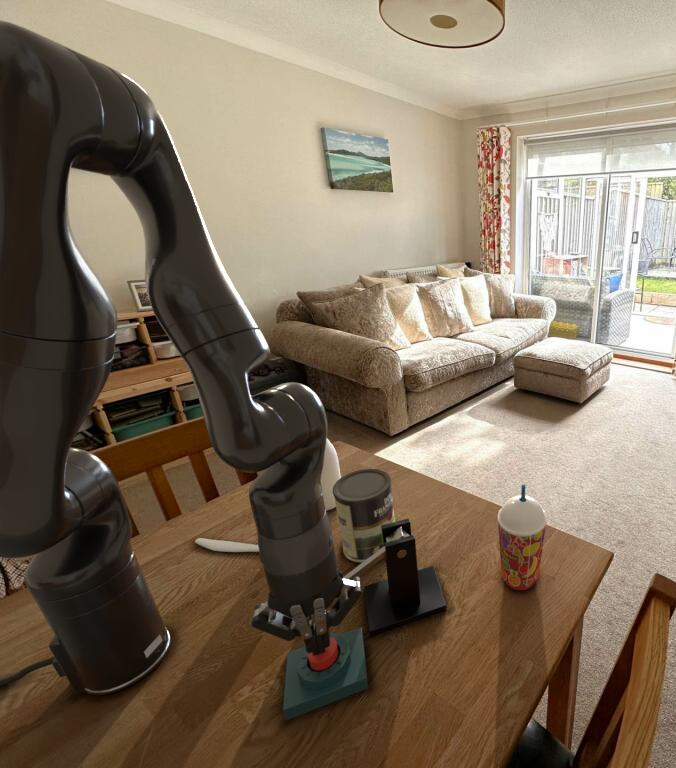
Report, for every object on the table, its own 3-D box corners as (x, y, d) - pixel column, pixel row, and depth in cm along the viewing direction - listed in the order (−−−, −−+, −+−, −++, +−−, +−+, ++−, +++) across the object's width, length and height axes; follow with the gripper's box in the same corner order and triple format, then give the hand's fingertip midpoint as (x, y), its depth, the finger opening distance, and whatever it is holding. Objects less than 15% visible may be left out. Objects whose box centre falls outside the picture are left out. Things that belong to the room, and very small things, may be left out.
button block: (285, 721, 51) (279, 701, 50) (290, 662, 58) (284, 643, 57) (368, 688, 55) (364, 669, 54) (363, 637, 62) (360, 618, 60)
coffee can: (406, 529, 84) (400, 471, 79) (381, 567, 74) (373, 505, 69) (360, 521, 86) (352, 464, 80) (331, 557, 76) (319, 496, 71)
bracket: (370, 637, 62) (359, 564, 56) (365, 591, 69) (354, 523, 64) (446, 611, 66) (443, 540, 61) (433, 570, 74) (429, 504, 69)
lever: (336, 606, 61) (322, 596, 59) (336, 590, 64) (322, 580, 62) (413, 547, 63) (402, 536, 61) (410, 533, 65) (398, 523, 64)
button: (309, 675, 53) (307, 666, 52) (310, 650, 56) (308, 642, 55) (338, 664, 54) (337, 656, 54) (337, 641, 57) (336, 632, 57)
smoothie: (489, 569, 75) (489, 478, 67) (528, 554, 78) (532, 466, 71) (509, 604, 68) (512, 508, 60) (551, 586, 71) (559, 493, 64)
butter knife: (318, 562, 74) (327, 549, 77) (188, 546, 77) (200, 535, 80) (319, 564, 74) (328, 552, 77) (189, 548, 78) (201, 537, 80)
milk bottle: (351, 498, 93) (339, 420, 85) (320, 517, 86) (305, 435, 79) (330, 487, 96) (317, 411, 89) (299, 504, 90) (283, 425, 83)
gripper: (356, 515, 53) (368, 609, 60) (239, 541, 48) (266, 640, 55) (360, 555, 47) (373, 656, 53) (225, 590, 42) (258, 696, 48)
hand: (319, 648), depth 54 cm, fingers closed
